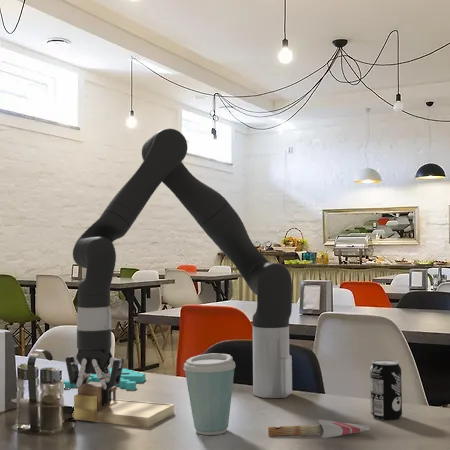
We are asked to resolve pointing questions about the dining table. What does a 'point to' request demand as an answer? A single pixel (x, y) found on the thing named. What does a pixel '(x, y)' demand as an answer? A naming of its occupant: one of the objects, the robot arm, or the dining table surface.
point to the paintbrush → (319, 429)
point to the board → (134, 413)
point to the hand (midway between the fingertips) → (94, 404)
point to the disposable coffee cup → (210, 391)
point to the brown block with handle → (89, 401)
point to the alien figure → (126, 380)
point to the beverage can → (386, 389)
